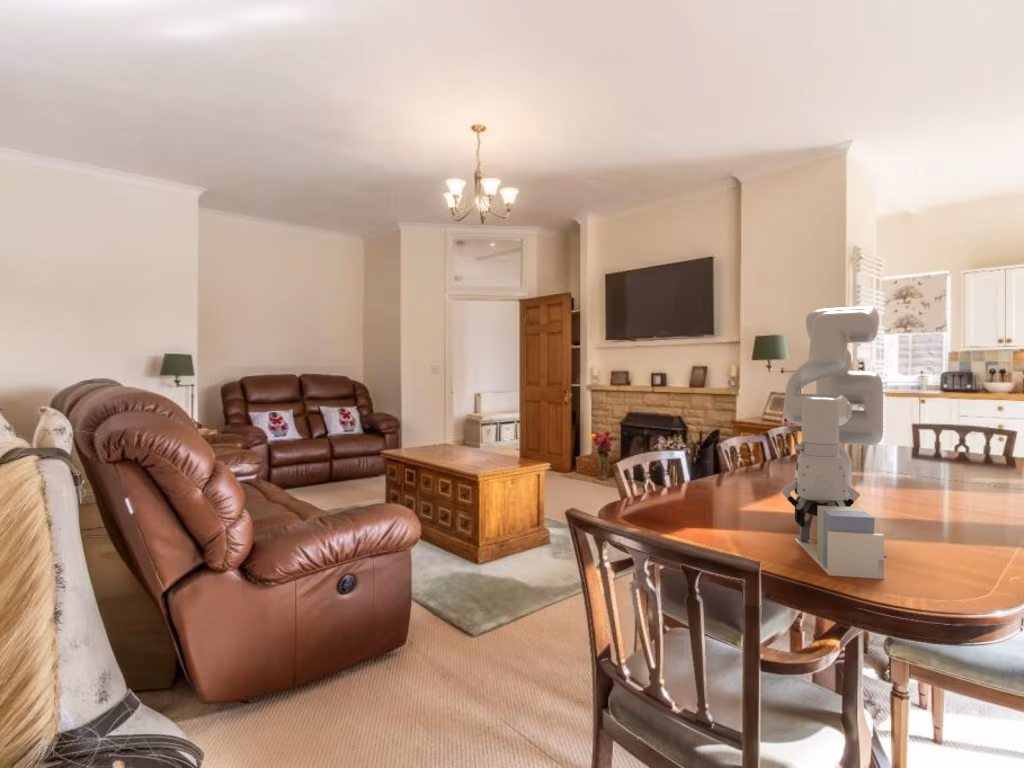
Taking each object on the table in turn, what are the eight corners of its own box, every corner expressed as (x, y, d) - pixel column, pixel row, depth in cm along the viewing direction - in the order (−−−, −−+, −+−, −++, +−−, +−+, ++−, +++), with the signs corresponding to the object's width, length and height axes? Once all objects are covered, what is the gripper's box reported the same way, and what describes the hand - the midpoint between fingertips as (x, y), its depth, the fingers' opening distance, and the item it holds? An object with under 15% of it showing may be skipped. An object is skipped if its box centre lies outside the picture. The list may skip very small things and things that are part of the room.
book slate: (823, 566, 116) (824, 510, 116) (865, 568, 114) (866, 512, 114) (830, 573, 112) (831, 515, 112) (873, 575, 110) (874, 517, 110)
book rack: (794, 543, 134) (794, 503, 134) (838, 545, 132) (839, 505, 132) (829, 580, 111) (829, 532, 111) (883, 584, 109) (884, 535, 109)
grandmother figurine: (815, 546, 122) (815, 491, 122) (800, 541, 126) (801, 487, 125) (839, 542, 125) (840, 488, 125) (824, 537, 129) (825, 484, 128)
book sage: (817, 559, 120) (817, 505, 120) (857, 561, 118) (857, 507, 118) (823, 565, 116) (823, 510, 116) (864, 568, 115) (865, 512, 114)
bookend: (797, 537, 134) (797, 489, 134) (832, 539, 133) (833, 491, 132) (801, 541, 131) (801, 492, 131) (837, 543, 130) (837, 494, 129)
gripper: (783, 451, 123) (783, 528, 124) (869, 453, 119) (868, 533, 120) (774, 447, 130) (774, 519, 131) (855, 448, 127) (854, 523, 127)
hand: (819, 525), depth 125 cm, fingers closed on grandmother figurine, 7 cm apart
